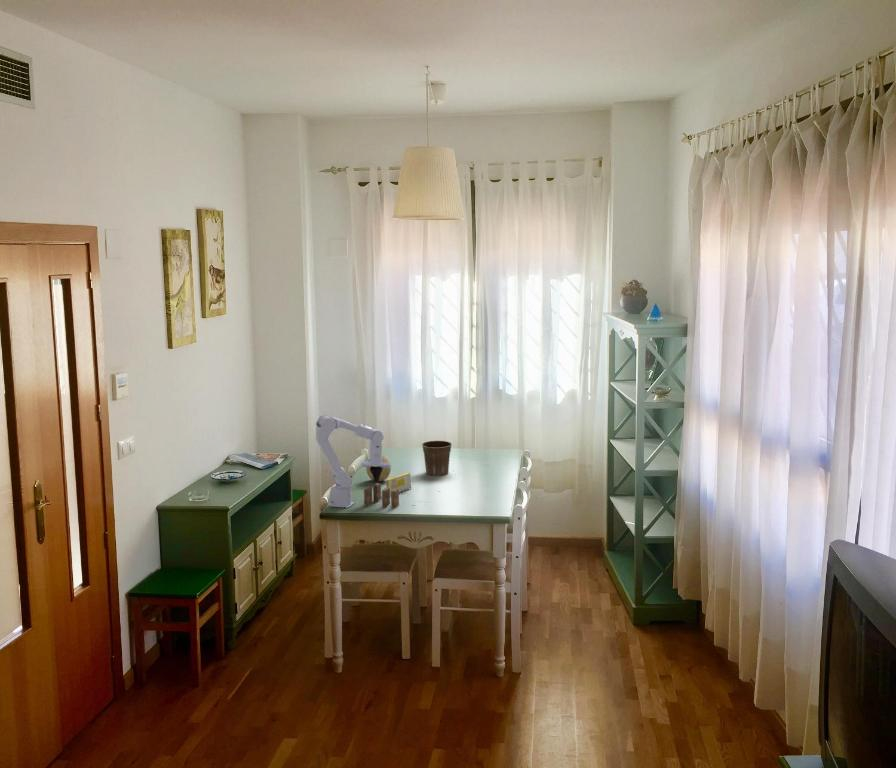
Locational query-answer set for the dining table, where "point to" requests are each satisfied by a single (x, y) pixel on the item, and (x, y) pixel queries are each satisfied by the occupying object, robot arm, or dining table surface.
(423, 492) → the dining table surface
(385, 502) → the middle tile
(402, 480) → the candy box
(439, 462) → the plant pot
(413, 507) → the dining table surface
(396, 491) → the far tile
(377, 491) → the tile
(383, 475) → the fossilized egg
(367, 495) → the end tile
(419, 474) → the dining table surface
